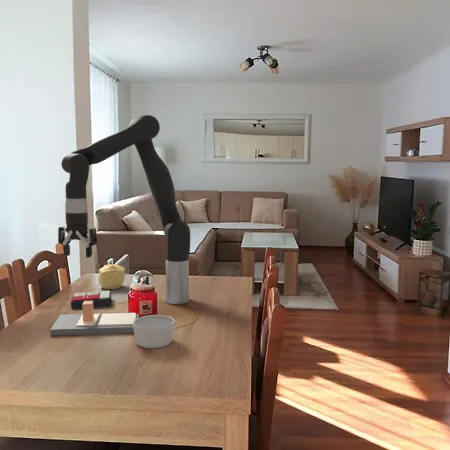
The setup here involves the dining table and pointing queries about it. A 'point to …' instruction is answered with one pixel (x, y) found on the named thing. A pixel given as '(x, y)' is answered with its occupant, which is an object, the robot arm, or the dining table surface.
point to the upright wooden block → (88, 315)
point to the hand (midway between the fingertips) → (77, 256)
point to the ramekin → (153, 331)
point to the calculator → (92, 299)
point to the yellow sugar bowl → (111, 276)
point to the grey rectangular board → (104, 324)
